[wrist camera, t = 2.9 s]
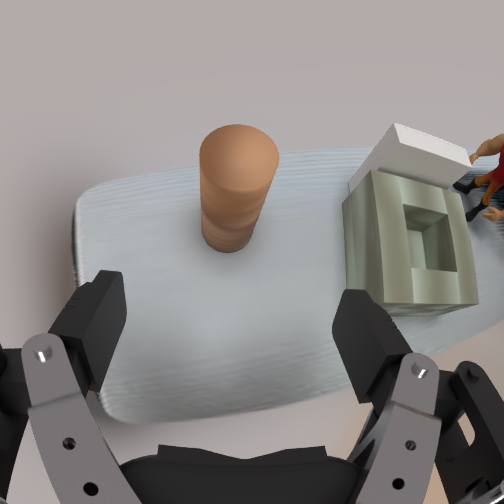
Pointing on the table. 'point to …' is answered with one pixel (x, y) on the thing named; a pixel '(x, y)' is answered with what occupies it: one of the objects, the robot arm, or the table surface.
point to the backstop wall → (415, 158)
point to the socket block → (408, 246)
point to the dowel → (234, 184)
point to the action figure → (487, 179)
